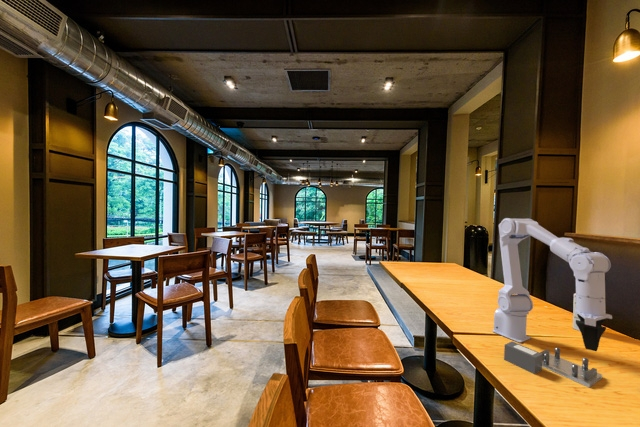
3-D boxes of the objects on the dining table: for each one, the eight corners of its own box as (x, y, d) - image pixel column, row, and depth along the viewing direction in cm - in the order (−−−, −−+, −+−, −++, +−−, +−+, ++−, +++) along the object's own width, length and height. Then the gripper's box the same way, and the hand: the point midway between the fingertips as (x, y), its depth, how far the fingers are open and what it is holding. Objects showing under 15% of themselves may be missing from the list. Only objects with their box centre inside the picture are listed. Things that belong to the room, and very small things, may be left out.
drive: (504, 360, 82) (504, 344, 82) (511, 356, 84) (512, 341, 84) (534, 374, 75) (535, 357, 75) (541, 370, 77) (542, 353, 77)
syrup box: (592, 335, 100) (594, 297, 99) (571, 328, 105) (573, 292, 105) (598, 332, 102) (599, 295, 102) (577, 325, 108) (579, 291, 107)
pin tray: (531, 361, 81) (532, 349, 81) (545, 354, 85) (546, 342, 85) (589, 387, 70) (590, 373, 70) (602, 378, 74) (602, 364, 74)
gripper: (612, 304, 65) (614, 360, 65) (610, 294, 75) (611, 342, 75) (573, 298, 70) (574, 349, 70) (576, 289, 80) (577, 334, 80)
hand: (591, 345), depth 73 cm, fingers open, 7 cm apart
